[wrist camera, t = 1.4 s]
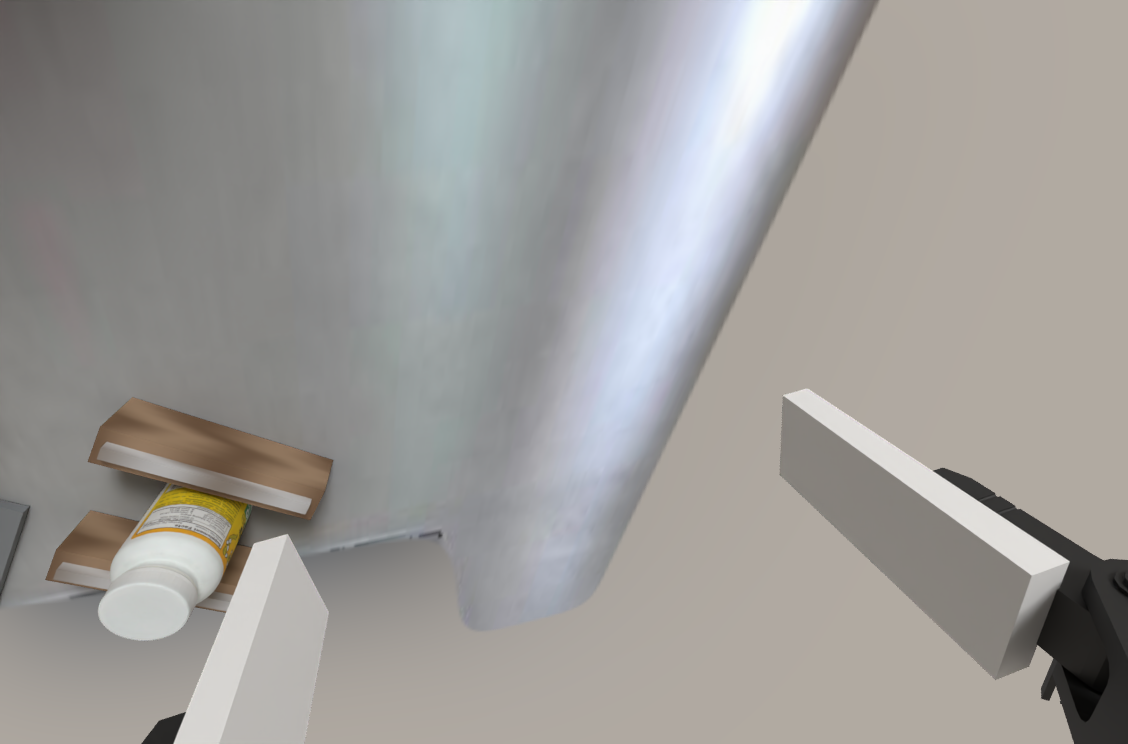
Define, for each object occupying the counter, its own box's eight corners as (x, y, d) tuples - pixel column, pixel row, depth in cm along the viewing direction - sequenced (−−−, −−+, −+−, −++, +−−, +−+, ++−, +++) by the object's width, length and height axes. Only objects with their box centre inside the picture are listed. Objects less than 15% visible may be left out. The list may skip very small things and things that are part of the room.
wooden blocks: (80, 538, 34) (38, 587, 31) (132, 397, 32) (94, 432, 28) (273, 579, 39) (258, 626, 35) (333, 460, 36) (323, 497, 33)
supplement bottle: (203, 449, 34) (131, 555, 25) (273, 495, 36) (228, 605, 28) (144, 500, 34) (53, 621, 26) (217, 542, 37) (157, 664, 28)
